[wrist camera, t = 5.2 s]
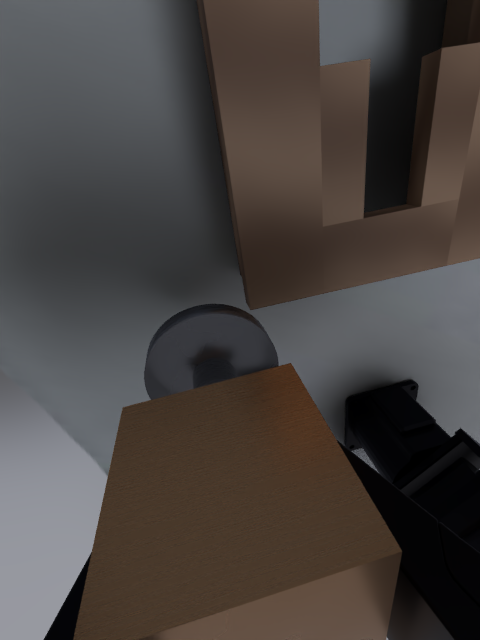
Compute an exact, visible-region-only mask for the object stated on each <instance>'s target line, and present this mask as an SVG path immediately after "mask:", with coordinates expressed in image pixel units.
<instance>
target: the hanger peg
mask: <svg viewBox="0 0 480 640" xmlns="http://www.w3.org/2000/svg"><path fill="white" fill-rule="evenodd" d="M144 380H145V387H146V390H147V393H148V395H149V397H150V399H151V400H149V401H145V402H142V403H138V404H134V405H130V406H127V407H123V409H122V413H121V418H120V423H119V427H118V432H117V437H116V441H115V446H114V451H113V456H112V460H111V465H110V470H109V474H108V479H107V484H106V488H105V493H104V498H103V502H102V507H101V512H100V517H99V521H98V526H97V530H96V535H95V540H94V544H93V549H92V554H91V558H90V563H89V568H88V572H87V577H86V582H85V586H84V591H83V596H82V601H81V605H80V610H79V615H78V619H77V624H76V629H75V633H74V638H73V640H386V637H387V632H388V626H389V621H390V615H391V610H392V604H393V599H394V594H395V588H396V583H397V577H398V572H399V566H400V561H401V555H402V550H401V548H400V547H399V545H398V543H397V542H396V540H395V538H394V536H393V535H392V533H391V531H390V530H389V528H388V526H387V525H386V523H385V521H384V520H383V518H382V516H381V515H380V513H379V511H378V509H377V508H376V506H375V504H374V503H373V501H372V499H371V498H370V496H369V494H368V493H367V491H366V489H365V487H364V486H363V484H362V482H361V481H360V479H359V477H358V476H357V474H356V472H355V471H354V469H353V467H352V466H351V464H350V462H349V460H348V459H347V457H346V455H345V454H344V452H343V450H342V449H341V447H340V445H339V444H338V442H337V440H336V438H335V437H334V435H333V433H332V432H331V430H330V428H329V427H328V425H327V423H326V422H325V420H324V418H323V417H322V415H321V413H320V411H319V410H318V408H317V406H316V405H315V403H314V401H313V400H312V398H311V396H310V395H309V393H308V391H307V389H306V388H305V386H304V384H303V383H302V381H301V379H300V378H299V376H298V374H297V373H296V371H295V369H294V367H293V366H292V364H291V363H289V364H285V365H282V366H278V357H277V352H276V350H275V347H274V345H273V343H272V341H271V340H270V338H269V336H268V334H267V332H266V331H265V329H264V327H263V326H262V325H261V324H260V322H259V321H258V320H257V319H256V318H254V317H253V316H252V315H250V314H249V313H247V312H246V311H243V310H241V309H239V308H236V307H233V306H229V305H224V304H204V305H199V306H195V307H191V308H188V309H186V310H183V311H181V312H179V313H177V314H176V315H174V316H172V317H171V318H170V319H168V320H167V321H166V322H165V323H164V324H163V325H162V326H161V327H160V328H159V329H158V330H157V332H156V333H155V334H154V336H153V338H152V340H151V342H150V345H149V348H148V352H147V358H146V365H145V371H144Z"/></svg>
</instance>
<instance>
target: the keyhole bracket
mask: <svg viewBox="0 0 480 640" xmlns="http://www.w3.org/2000/svg"><path fill="white" fill-rule="evenodd" d="M197 6H198V13H199V19H200V25H201V31H202V38H203V44H204V50H205V56H206V63H207V69H208V75H209V81H210V88H211V94H212V100H213V106H214V112H215V119H216V125H217V131H218V137H219V144H220V150H221V156H222V162H223V169H224V175H225V181H226V187H227V194H228V200H229V206H230V212H231V219H232V225H233V231H234V237H235V244H236V250H237V256H238V262H239V269H240V275H241V276H242V279H243V285H244V292H245V298H246V303H247V304H248V306H249V308H250V310H254V309H258V308H262V307H267V306H271V305H276V304H280V303H284V302H289V301H293V300H298V299H302V298H306V297H311V296H315V295H320V294H324V293H328V292H333V291H337V290H341V289H346V288H350V287H355V286H359V285H363V284H368V283H372V282H377V281H381V280H385V279H390V278H394V277H399V276H403V275H407V274H412V273H416V272H421V271H425V270H429V269H434V268H438V267H443V266H447V265H451V264H456V263H460V262H465V261H469V260H473V259H478V258H480V0H448V1H447V9H446V17H445V24H444V32H443V40H442V47H441V49H439V50H437V51H434V52H432V53H430V54H427V55H425V56H423V57H422V63H421V73H420V82H419V91H418V100H417V109H416V119H415V128H414V137H413V146H412V156H411V165H410V174H409V183H408V192H407V202H406V204H404V205H400V206H395V207H390V208H385V209H380V210H375V211H370V212H365V213H364V194H365V171H366V149H367V126H368V104H369V81H370V59H365V60H359V61H352V62H345V63H338V64H332V65H325V66H320V51H319V0H197Z"/></svg>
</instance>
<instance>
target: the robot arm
mask: <svg viewBox="0 0 480 640" xmlns="http://www.w3.org/2000/svg"><path fill="white" fill-rule="evenodd" d="M417 392H418V384H417V383H416V382H415V381H413V380H412V381H407V382H404V383H400V384H396V385H392V386H389V387H385V388H381V389H377V390H373V391H370V392H366V393H362V394H358V395H355V396H351V397H349V398H348V399H347V400H346V417H345V446H344V445H342V444H341V443H340V442H339V441H337V442H338V444H339V445H340V447H341V449H342V450H343V452H344V454H345V455H346V457H347V459H348V460H349V462H350V464H351V466H352V467H353V469H354V471H355V472H356V474H357V476H358V477H359V479H360V481H361V482H362V484H363V486H364V487H365V489H366V491H367V493H368V494H369V496H370V498H371V499H372V501H373V503H374V504H375V506H376V508H377V509H378V511H379V513H380V515H381V516H382V518H383V520H384V521H385V523H386V525H387V526H388V528H389V530H390V531H391V533H392V535H393V536H394V538H395V540H396V542H397V543H398V545H399V547H400V548H401V550H402V555H401V561H400V566H399V572H398V577H397V583H396V588H395V594H394V599H393V604H392V610H391V615H390V621H389V626H388V632H387V638H388V639H389V640H480V470H479V469H480V444H479V443H478V442H477V441H475V440H474V439H473V438H472V437H471V436H469V435H468V434H467V433H466V432H465V431H463V430H462V429H461V428H460V429H459V430H458V431H456V432H455V435H454V436H453V437H450V436H449V435H448V434H447V433H446V432H445V431H444V430H443V429H442V428H441V427H440V426H439V425H438V424H437V423H436V420H435V419H434V418H433V417H432V416H431V415H430V414H429V413H428V412H427V411H426V410H425V409H424V408H423V407H422V406H421V405H420V404H419V403H418V402H417V401H416V398H417ZM359 448H363V449H364V451H365V452H366V454H367V455H368V457H369V458H370V460H371V461H372V463H373V464H374V466H375V467H376V469H377V470H378V472H379V473H380V474H379V473H378V472H377V471H375V470H374V469H373V468H371V467H370V466H369V465H368V464H366V463H365V462H364V461H363V460H361V459H360V458H359V457H358V456H356V455H355V454H354V453H353V452H351V451H352V450H355V449H359ZM91 554H92V552H91ZM91 554H90V556H89V558H88V560H87V561H86V563H85V565H84V567H83V569H82V571H81V572H80V574H79V576H78V578H77V580H76V582H75V584H74V585H73V587H72V589H71V591H70V592H69V595H68V596H67V598H66V600H65V602H64V603H63V605H62V607H61V609H60V611H59V613H58V615H57V616H56V618H55V620H54V622H53V624H52V625H51V627H50V629H49V631H48V633H47V635H46V636H45V638H44V640H73V638H74V633H75V629H76V624H77V619H78V615H79V610H80V605H81V601H82V596H83V591H84V586H85V582H86V577H87V572H88V568H89V563H90V558H91Z"/></svg>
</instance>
